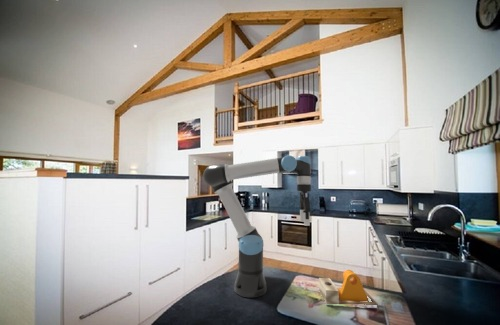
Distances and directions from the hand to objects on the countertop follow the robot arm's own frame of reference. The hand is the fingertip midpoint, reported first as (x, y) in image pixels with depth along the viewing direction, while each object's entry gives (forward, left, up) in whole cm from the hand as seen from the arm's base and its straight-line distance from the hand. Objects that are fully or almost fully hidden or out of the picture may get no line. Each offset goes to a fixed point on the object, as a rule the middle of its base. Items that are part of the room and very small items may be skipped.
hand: (304, 223), depth 111 cm
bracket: (+16, -18, -29) cm, 38 cm away
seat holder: (+14, -18, -29) cm, 37 cm away
